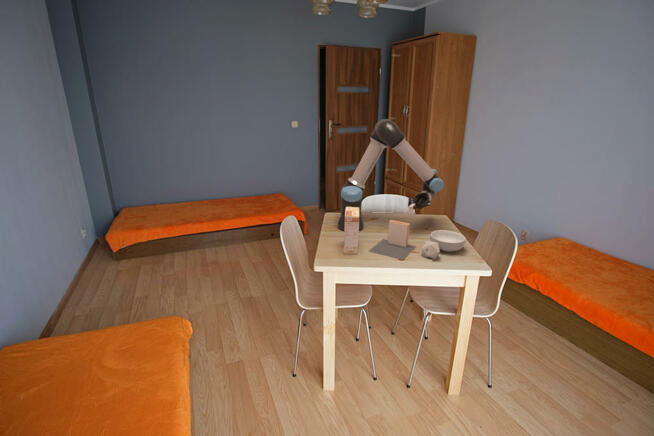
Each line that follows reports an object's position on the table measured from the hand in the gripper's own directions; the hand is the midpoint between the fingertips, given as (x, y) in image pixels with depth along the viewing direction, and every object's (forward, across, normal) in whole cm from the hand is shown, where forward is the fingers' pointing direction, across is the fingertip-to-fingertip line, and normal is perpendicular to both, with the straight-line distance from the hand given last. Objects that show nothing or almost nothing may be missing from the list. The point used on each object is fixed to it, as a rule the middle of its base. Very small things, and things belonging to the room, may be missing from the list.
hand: (410, 209), depth 182 cm
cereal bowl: (+2, -21, -18) cm, 27 cm away
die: (+17, -17, -17) cm, 29 cm away
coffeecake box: (+27, +20, -17) cm, 38 cm away
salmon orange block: (+13, +1, -16) cm, 20 cm away
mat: (+19, +1, -17) cm, 25 cm away
